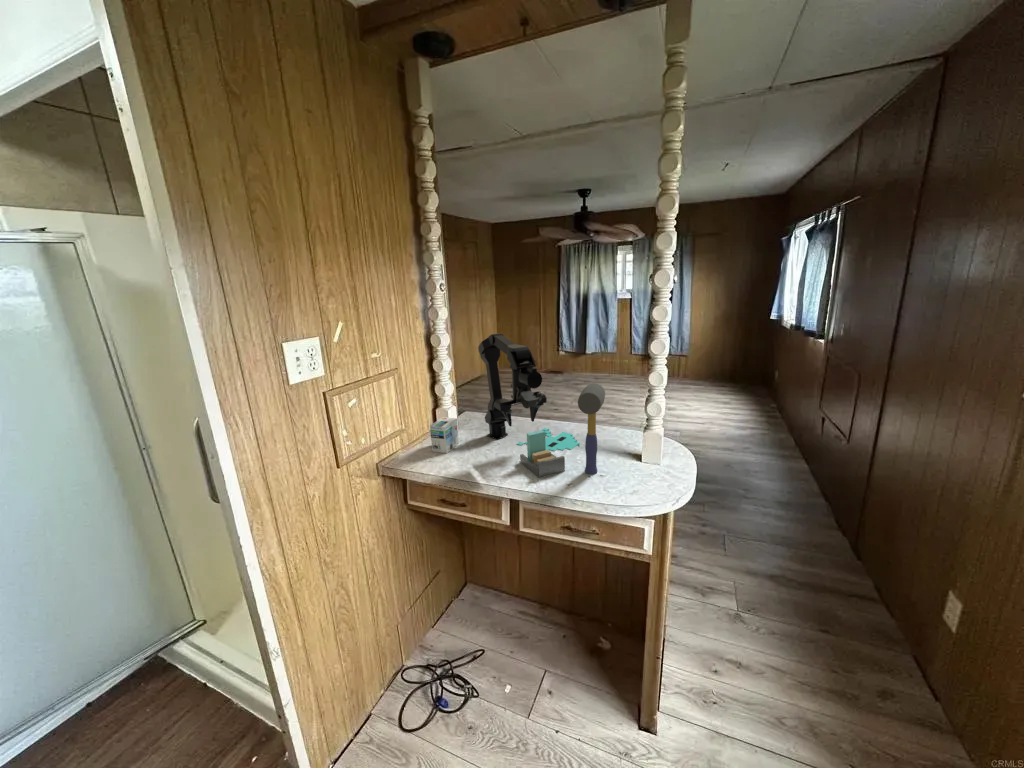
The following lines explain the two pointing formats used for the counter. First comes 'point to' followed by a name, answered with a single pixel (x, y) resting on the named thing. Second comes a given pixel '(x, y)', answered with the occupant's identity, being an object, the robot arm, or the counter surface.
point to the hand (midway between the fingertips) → (521, 423)
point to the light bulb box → (444, 434)
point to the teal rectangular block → (535, 443)
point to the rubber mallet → (591, 421)
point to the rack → (544, 466)
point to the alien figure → (558, 441)
